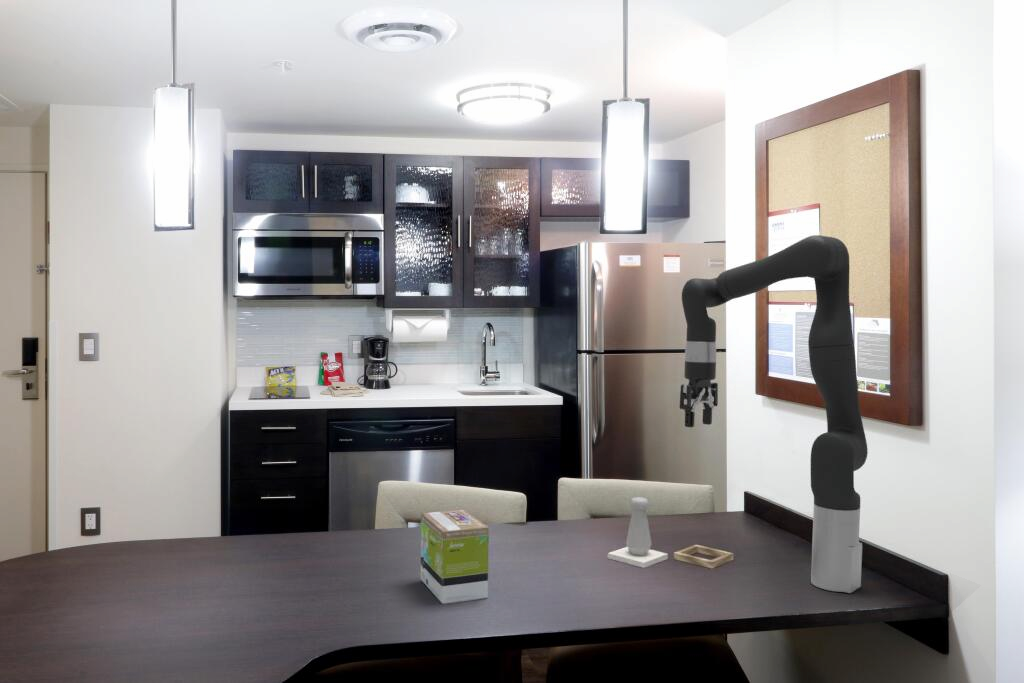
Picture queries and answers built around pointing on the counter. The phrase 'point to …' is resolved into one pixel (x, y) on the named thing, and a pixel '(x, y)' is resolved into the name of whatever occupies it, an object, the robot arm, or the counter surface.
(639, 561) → the coaster
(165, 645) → the counter surface
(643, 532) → the salt shaker
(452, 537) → the tea box
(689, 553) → the frame
